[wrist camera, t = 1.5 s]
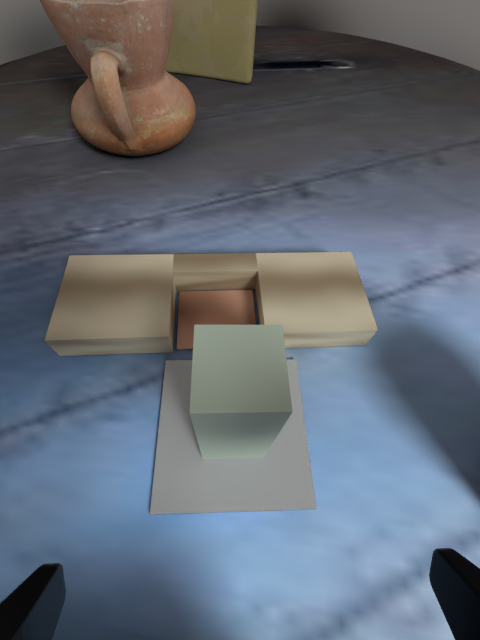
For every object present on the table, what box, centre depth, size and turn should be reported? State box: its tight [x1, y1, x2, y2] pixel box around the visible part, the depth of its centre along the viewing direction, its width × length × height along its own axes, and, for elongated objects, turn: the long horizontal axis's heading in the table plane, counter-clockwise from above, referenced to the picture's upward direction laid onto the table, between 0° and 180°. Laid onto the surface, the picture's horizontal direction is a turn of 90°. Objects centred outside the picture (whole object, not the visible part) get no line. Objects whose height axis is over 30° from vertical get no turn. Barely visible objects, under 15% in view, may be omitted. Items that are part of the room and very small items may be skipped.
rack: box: [45, 252, 378, 356], centre depth 26 cm, size 8×24×2 cm, turn 94°
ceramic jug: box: [40, 0, 196, 156], centre depth 35 cm, size 18×14×14 cm
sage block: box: [189, 325, 293, 459], centre depth 18 cm, size 4×4×10 cm
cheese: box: [165, 0, 257, 84], centre depth 46 cm, size 22×10×15 cm, turn 88°
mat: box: [150, 359, 316, 515], centre depth 22 cm, size 10×10×1 cm
